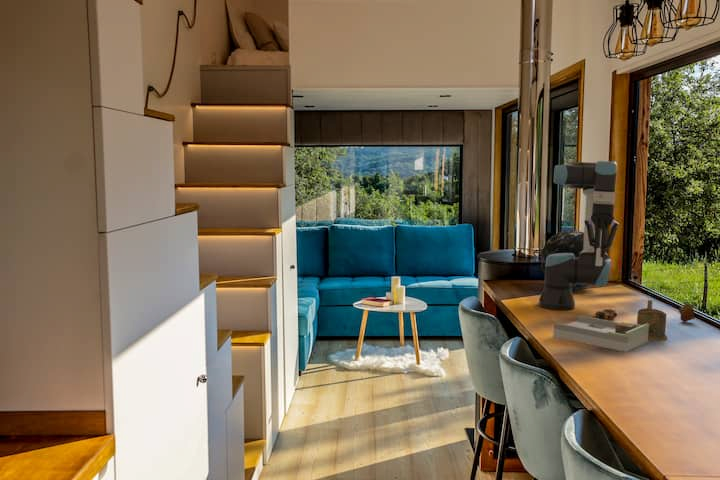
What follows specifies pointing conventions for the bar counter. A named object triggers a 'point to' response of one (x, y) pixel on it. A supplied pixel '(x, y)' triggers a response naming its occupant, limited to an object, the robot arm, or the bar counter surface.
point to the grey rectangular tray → (602, 333)
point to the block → (624, 327)
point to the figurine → (606, 314)
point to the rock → (687, 312)
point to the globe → (564, 247)
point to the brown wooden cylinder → (653, 322)
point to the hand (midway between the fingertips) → (598, 265)
